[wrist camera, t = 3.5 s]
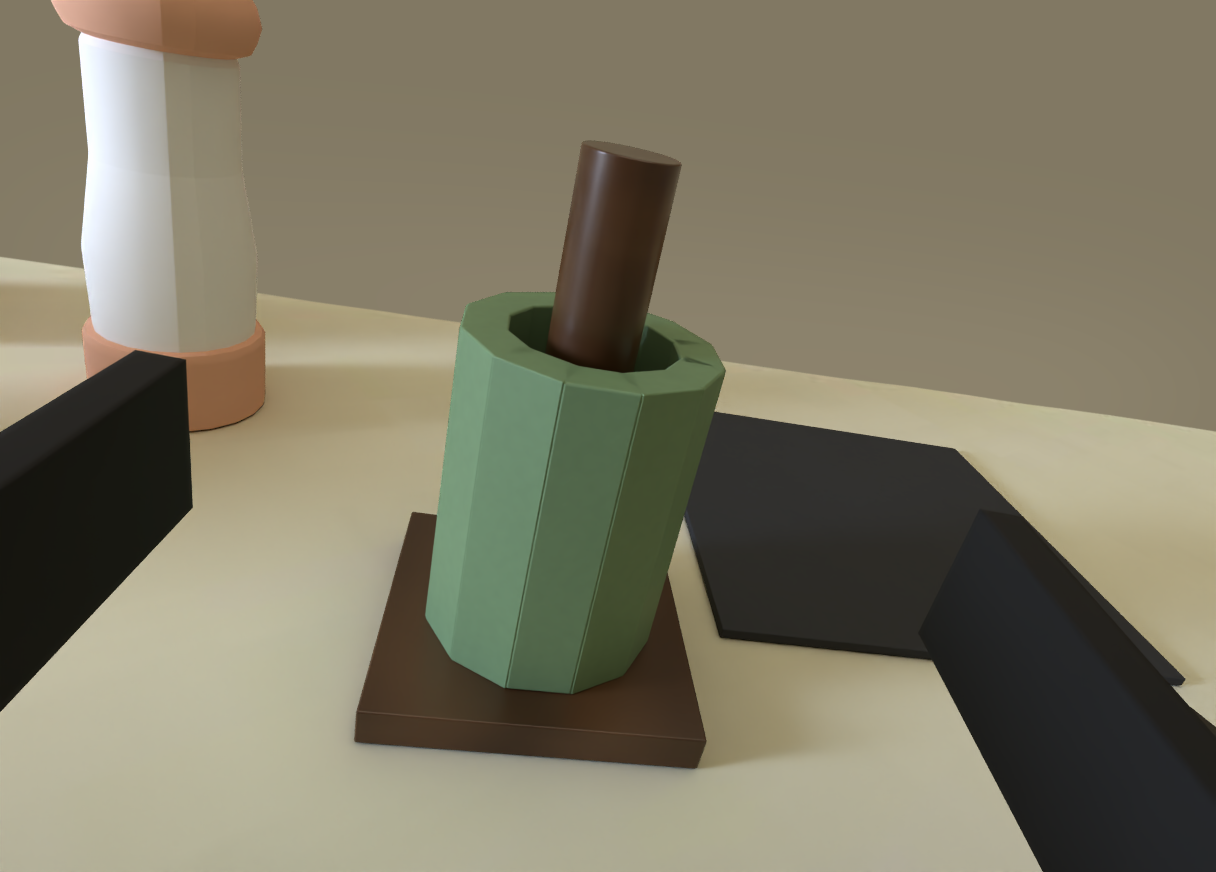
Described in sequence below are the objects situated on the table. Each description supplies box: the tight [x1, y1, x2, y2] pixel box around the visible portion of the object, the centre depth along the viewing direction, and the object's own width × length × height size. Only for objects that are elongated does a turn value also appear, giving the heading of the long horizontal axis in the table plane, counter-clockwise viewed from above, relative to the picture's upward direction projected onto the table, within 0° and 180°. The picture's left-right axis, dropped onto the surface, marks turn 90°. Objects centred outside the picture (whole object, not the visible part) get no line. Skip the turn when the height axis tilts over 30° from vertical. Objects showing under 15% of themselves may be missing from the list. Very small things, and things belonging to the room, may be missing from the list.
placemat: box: [684, 412, 1185, 685], centre depth 39 cm, size 20×20×1 cm
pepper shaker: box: [51, 0, 265, 431], centre depth 32 cm, size 7×7×19 cm
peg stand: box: [354, 141, 706, 768], centre depth 23 cm, size 10×10×16 cm
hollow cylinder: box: [425, 292, 726, 694], centre depth 24 cm, size 7×7×10 cm
